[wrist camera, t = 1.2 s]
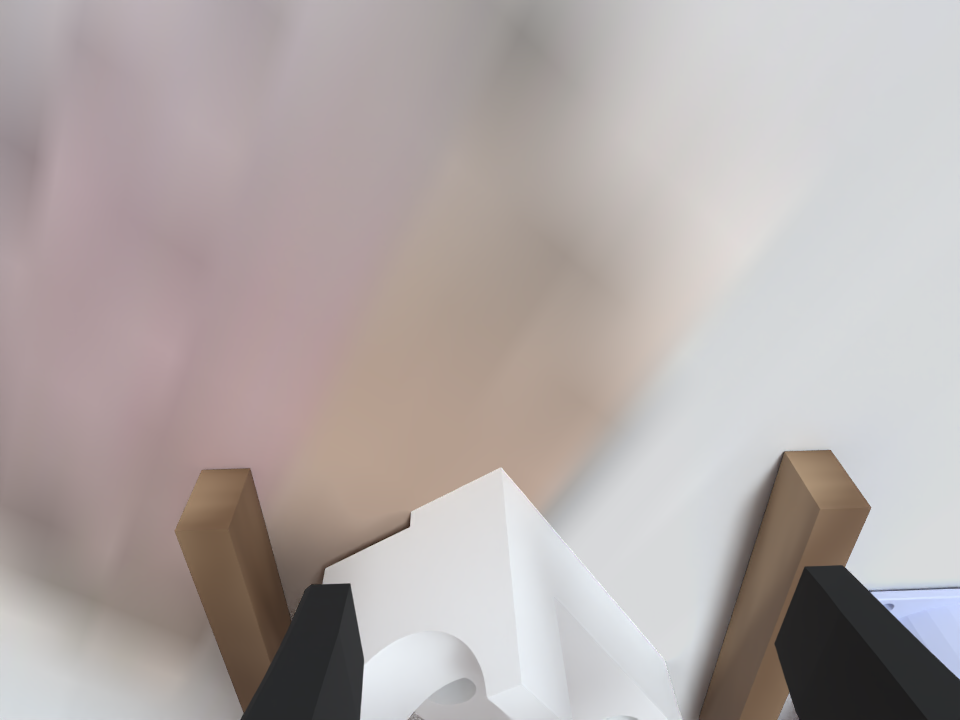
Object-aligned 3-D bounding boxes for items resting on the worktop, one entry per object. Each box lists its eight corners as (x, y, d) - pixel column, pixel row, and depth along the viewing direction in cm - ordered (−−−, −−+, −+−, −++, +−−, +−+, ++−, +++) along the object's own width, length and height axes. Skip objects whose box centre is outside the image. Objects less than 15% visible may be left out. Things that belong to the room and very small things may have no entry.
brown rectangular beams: (830, 450, 22) (871, 507, 19) (731, 716, 30) (752, 775, 28) (201, 470, 21) (174, 531, 19) (287, 735, 30) (275, 796, 28)
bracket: (329, 546, 24) (286, 775, 17) (500, 461, 22) (521, 684, 15) (517, 708, 30) (535, 919, 24) (662, 653, 28) (725, 867, 22)
